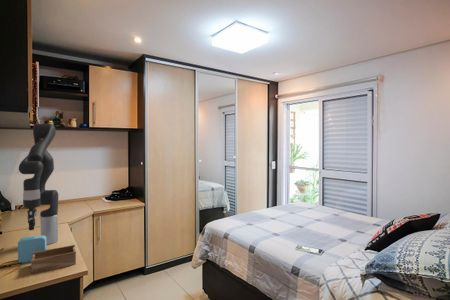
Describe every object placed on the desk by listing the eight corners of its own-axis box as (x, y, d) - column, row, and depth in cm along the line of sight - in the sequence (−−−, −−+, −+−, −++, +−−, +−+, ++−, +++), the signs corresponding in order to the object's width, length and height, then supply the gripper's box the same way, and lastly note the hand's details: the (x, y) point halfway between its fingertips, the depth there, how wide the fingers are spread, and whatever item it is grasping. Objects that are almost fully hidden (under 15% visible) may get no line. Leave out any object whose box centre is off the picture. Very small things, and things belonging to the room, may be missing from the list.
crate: (32, 264, 137) (32, 252, 137) (74, 256, 147) (74, 244, 147) (31, 273, 127) (30, 260, 127) (76, 264, 137) (76, 252, 137)
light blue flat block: (46, 256, 147) (46, 234, 147) (45, 259, 143) (44, 237, 143) (20, 260, 142) (19, 238, 142) (17, 263, 138) (17, 240, 138)
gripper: (24, 196, 146) (24, 225, 146) (21, 201, 134) (21, 232, 134) (40, 195, 150) (41, 223, 150) (39, 199, 138) (39, 230, 138)
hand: (32, 228), depth 142 cm, fingers open, 8 cm apart
